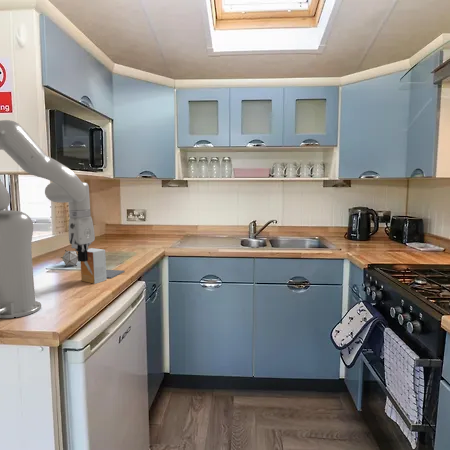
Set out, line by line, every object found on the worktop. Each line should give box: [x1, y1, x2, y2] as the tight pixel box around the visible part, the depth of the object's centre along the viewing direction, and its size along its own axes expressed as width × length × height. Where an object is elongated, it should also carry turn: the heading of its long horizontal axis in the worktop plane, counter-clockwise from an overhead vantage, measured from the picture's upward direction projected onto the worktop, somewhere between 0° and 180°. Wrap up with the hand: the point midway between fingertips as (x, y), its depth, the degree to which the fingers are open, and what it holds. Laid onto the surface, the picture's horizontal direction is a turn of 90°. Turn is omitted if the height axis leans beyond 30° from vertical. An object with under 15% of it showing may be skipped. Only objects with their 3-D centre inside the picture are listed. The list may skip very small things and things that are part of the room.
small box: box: [80, 247, 108, 285], centre depth 137 cm, size 8×6×13 cm
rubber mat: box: [106, 269, 125, 279], centre depth 147 cm, size 11×10×1 cm
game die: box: [60, 249, 79, 268], centre depth 164 cm, size 9×8×10 cm
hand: (83, 260), depth 130 cm, fingers closed
